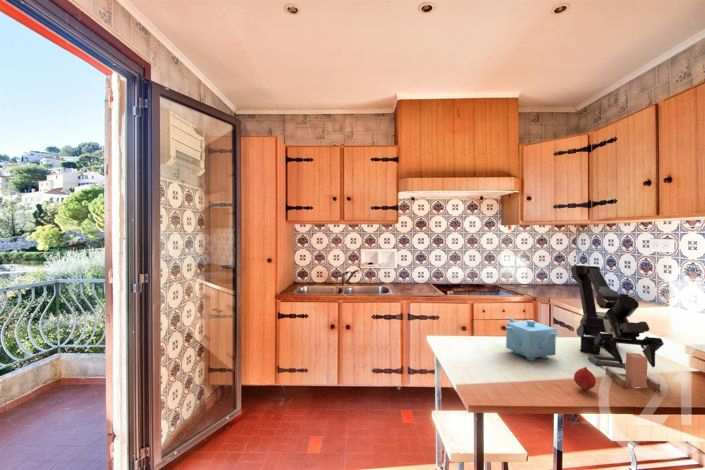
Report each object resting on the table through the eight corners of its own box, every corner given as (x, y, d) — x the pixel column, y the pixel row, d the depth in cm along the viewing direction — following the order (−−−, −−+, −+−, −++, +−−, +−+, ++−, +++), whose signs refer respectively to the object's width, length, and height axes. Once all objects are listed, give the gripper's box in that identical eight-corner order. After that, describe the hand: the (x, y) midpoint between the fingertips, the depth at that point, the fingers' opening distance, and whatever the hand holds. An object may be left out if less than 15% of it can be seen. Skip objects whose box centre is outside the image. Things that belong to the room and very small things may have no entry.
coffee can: (586, 339, 155) (587, 310, 154) (612, 342, 151) (613, 313, 151) (595, 346, 145) (596, 316, 145) (622, 349, 142) (623, 318, 141)
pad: (601, 366, 123) (601, 365, 123) (622, 369, 121) (622, 368, 121) (609, 373, 117) (609, 372, 117) (632, 375, 115) (632, 374, 115)
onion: (569, 386, 106) (570, 362, 106) (585, 385, 107) (586, 362, 107) (583, 395, 101) (584, 370, 100) (600, 394, 101) (600, 370, 101)
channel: (605, 373, 117) (605, 366, 117) (638, 377, 114) (638, 370, 114) (623, 387, 106) (623, 380, 106) (660, 392, 104) (660, 384, 104)
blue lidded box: (552, 352, 137) (553, 318, 137) (558, 368, 120) (560, 330, 120) (504, 344, 145) (505, 312, 145) (504, 358, 129) (505, 322, 128)
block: (625, 382, 110) (626, 352, 110) (638, 383, 109) (639, 353, 109) (632, 387, 106) (633, 356, 106) (646, 389, 105) (647, 358, 105)
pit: (588, 359, 130) (588, 354, 130) (616, 362, 127) (616, 357, 127) (595, 365, 124) (595, 360, 124) (625, 368, 122) (625, 363, 122)
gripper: (599, 310, 114) (615, 351, 104) (660, 314, 110) (684, 358, 99) (587, 325, 122) (602, 365, 111) (645, 330, 118) (665, 372, 107)
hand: (637, 365), depth 107 cm, fingers open, 9 cm apart
